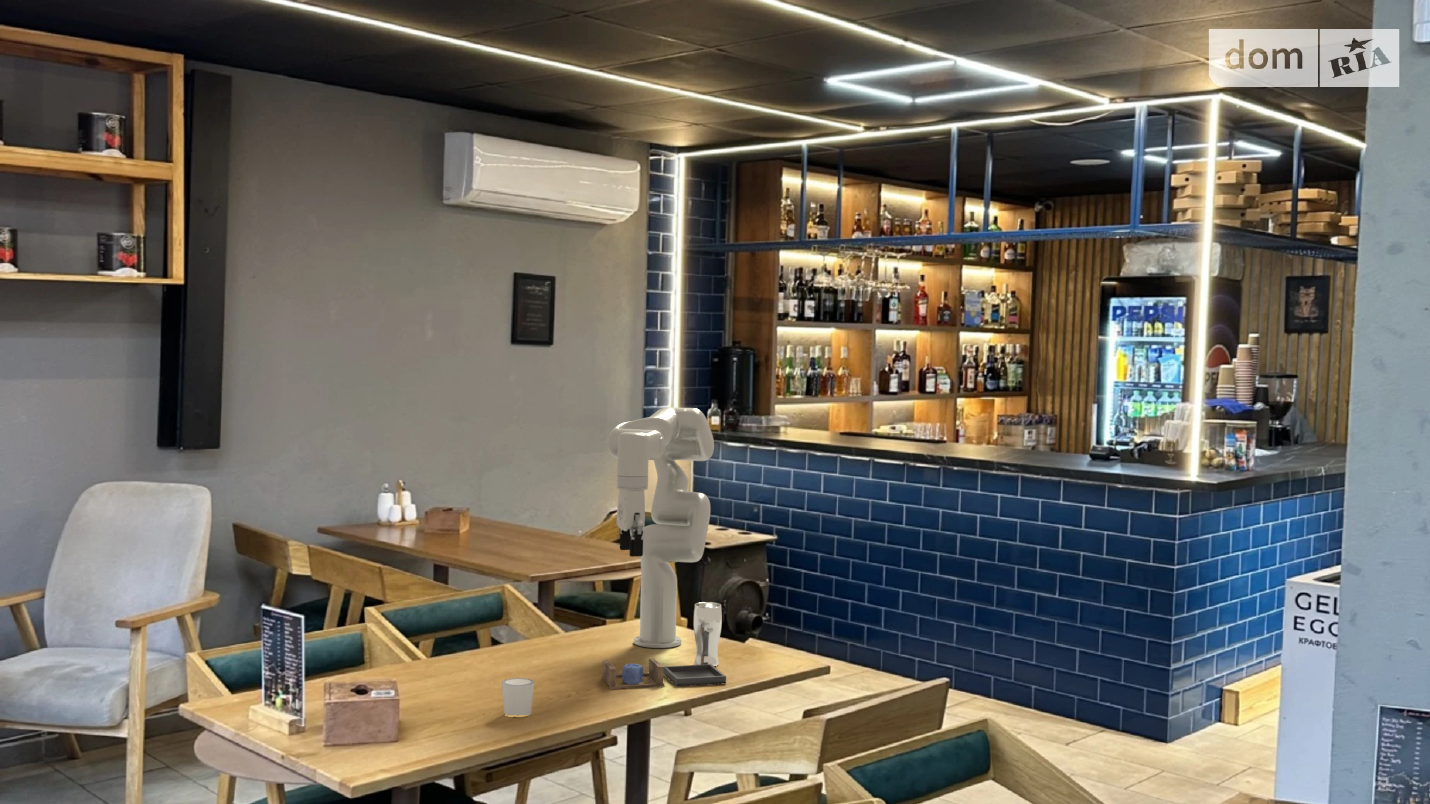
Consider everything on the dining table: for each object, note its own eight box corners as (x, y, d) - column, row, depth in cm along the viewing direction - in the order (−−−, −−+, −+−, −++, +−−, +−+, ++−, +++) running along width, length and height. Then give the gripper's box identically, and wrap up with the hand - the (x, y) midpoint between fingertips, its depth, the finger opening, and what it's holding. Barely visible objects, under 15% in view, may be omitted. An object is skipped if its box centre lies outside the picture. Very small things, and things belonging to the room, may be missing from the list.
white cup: (519, 720, 269) (520, 687, 269) (494, 715, 273) (494, 682, 272) (540, 713, 275) (541, 680, 275) (515, 708, 279) (516, 675, 278)
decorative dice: (637, 685, 300) (638, 668, 300) (621, 683, 301) (621, 666, 301) (643, 681, 304) (643, 664, 304) (627, 679, 305) (627, 663, 305)
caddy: (601, 677, 306) (601, 659, 306) (652, 675, 310) (652, 656, 310) (611, 689, 296) (612, 670, 296) (664, 686, 299) (664, 667, 299)
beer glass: (721, 662, 325) (723, 602, 324) (719, 668, 318) (720, 607, 317) (694, 660, 325) (695, 601, 325) (690, 667, 319) (692, 606, 318)
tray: (663, 674, 311) (663, 666, 311) (710, 671, 315) (711, 664, 315) (676, 686, 300) (676, 678, 300) (726, 683, 303) (726, 676, 303)
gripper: (609, 479, 322) (607, 547, 322) (626, 487, 305) (624, 559, 306) (638, 479, 324) (637, 547, 325) (656, 486, 308) (655, 558, 308)
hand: (631, 553), depth 315 cm, fingers open, 9 cm apart
